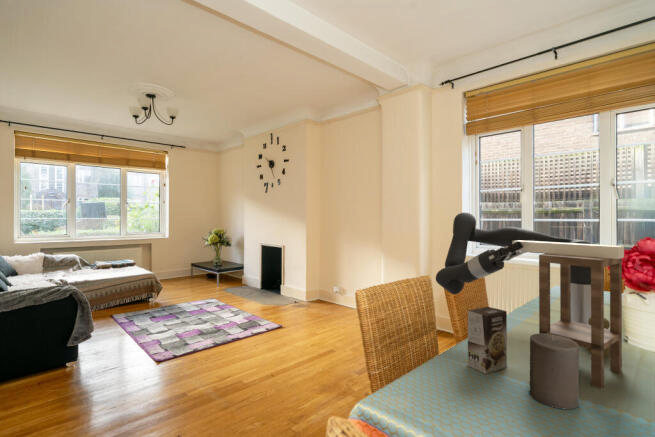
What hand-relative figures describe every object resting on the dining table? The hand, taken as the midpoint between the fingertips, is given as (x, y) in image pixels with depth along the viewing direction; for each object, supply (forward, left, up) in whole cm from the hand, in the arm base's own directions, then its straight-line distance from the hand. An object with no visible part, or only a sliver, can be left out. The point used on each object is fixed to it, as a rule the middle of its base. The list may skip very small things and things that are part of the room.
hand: (528, 243), depth 103 cm
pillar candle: (+22, +15, -35) cm, 44 cm away
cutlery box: (0, +9, -2) cm, 10 cm away
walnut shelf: (0, +13, -34) cm, 37 cm away
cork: (-18, +12, -35) cm, 41 cm away
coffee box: (+19, -3, -35) cm, 40 cm away
